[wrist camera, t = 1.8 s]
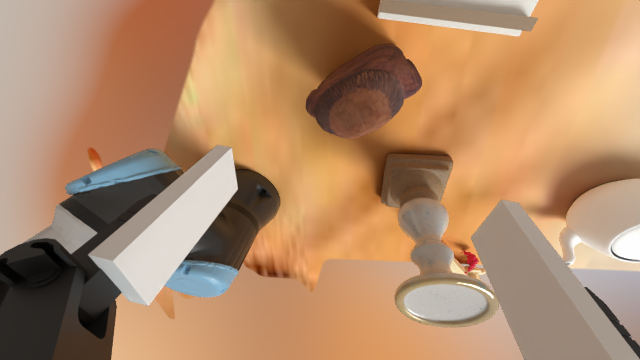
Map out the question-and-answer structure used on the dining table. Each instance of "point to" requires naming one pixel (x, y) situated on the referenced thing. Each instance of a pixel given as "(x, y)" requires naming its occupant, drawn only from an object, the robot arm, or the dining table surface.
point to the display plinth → (464, 14)
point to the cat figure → (468, 267)
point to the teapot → (605, 222)
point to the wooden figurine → (364, 92)
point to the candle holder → (431, 246)
